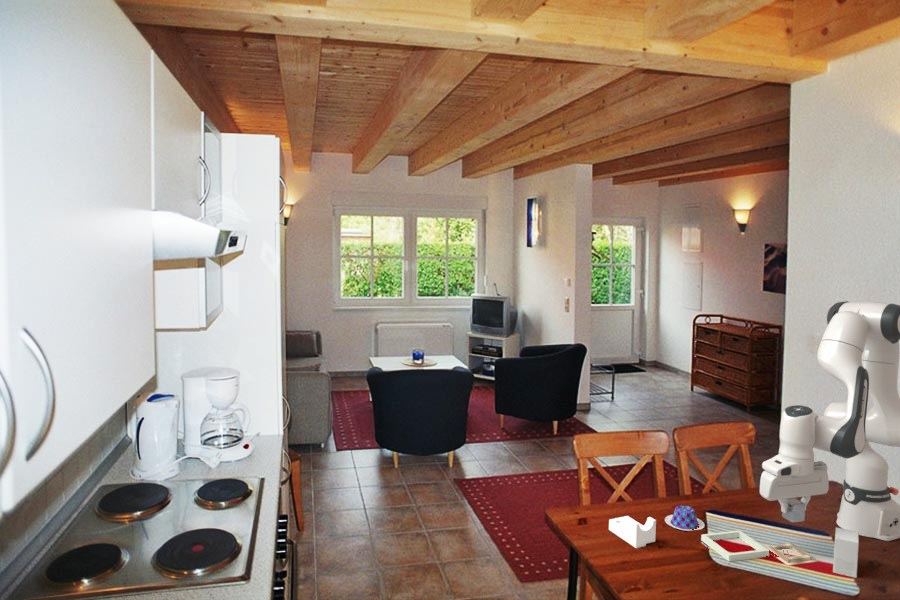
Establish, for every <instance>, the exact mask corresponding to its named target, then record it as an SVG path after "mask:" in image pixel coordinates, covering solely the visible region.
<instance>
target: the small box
mask: <svg viewBox="0 0 900 600" xmlns="http://www.w3.org/2000/svg"><path fill="white" fill-rule="evenodd" d="M833 545H834V547H833V563H832V573H835V574H838V575H842V576H847V577H852V578H856V579H857V577H858V564H859V563H858V562H859V548H860V547H859V545H860V535H859V532H856V531H851V530H847V529H843V528H841V527H835V534H834V544H833Z"/></svg>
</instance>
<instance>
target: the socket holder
mask: <svg viewBox="0 0 900 600" xmlns="http://www.w3.org/2000/svg"><path fill="white" fill-rule="evenodd" d="M767 548H768V549H769V550H770V551H771V552H773V553H774V554H776V555H777V556H779V557H775V555H774V556H773V557H775V558H776V559H778V560H779V561H781V562H782V563H783V564H785V565H786V566H793V565H800V564H801V565H802V564H809V563H810V564H811V563H815V562H816V563H818V560H817V559H816V558H814V555H813V556H812V555H811V554H810V553H808V552H806V551H805V550H803V549H802V548H800V547H798V546H797V545H795V544H794V543H792V542H791V543H783V544H775V545H769V546H767ZM790 548H791V549H793V550H795V551H796V552H798V553H799V554H800V556H790V555H784V554H785V553H784V550H783V553H781V552H780V551H778V550H782V549H790ZM796 552H795V553H796ZM787 553H788V550H787ZM791 553H792V551H791ZM788 554H789V553H788Z"/></svg>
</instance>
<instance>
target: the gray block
mask: <svg viewBox="0 0 900 600" xmlns="http://www.w3.org/2000/svg"><path fill="white" fill-rule="evenodd" d="M786 505H787V506H789V507H790V512H788V513H784V512H782V511H781V512H782V513H781V517H782V518H784V519H785V520H787V521H789V522H790V523H801V522H805V517H806V510H805V504H804V503H802V502H801V500H798V499H797V498H788V499H787V502H786Z"/></svg>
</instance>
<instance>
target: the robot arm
mask: <svg viewBox="0 0 900 600" xmlns="http://www.w3.org/2000/svg"><path fill="white" fill-rule="evenodd" d="M826 324H827V326H826V328H825V330H824V332H823V335H822V337H821V339H820V343H819V345H818V349H817V353H816V360H817V364H818V365H819V366H820V368H821V369H822V371H824V372H825V373H827V374H828V375H829V376H831V377H832V378H834V379H835V380H838V382H841V383H843V384H844V385H845V387H846V389H847V400H846V401H833V402H831V403H830V404H827V405H828V406H826V408H825V409H824V412H823V414H819V413H816V412H814V410H813V409H812V408H811V407H809V406H806V405H795V404H794V405H789V406H787V407H785V408H784V410H783V412H782V414H781V419H780V424H779V441H780V446H779V449H778V454H776V455H774V456H773V457H771V458H769V459H767V460H765V461H763V462H762V463H761V467H762V469H763V471H762V472H761V474H760V475H761V476H760V480H759V494H760V496H761V497H762V498H763V499H766V500H767V501H769V502H771V501H778V503H779V504H780V511H781V512H784V513H788V512H790V507H789V506H787V505H786V502H787V499H793V498H795V499H797V498H801V499H800V501H801V502H802V503H804V504H805V511H807V506H808V504H809V502H810V500H811V499H812V498H811V496H819V495H826V494H828V491H829V488H830V483H829V474H828V465H827V463H825V462H824V461H823V460H818V461H815V452H814V449H816V450H820V451H823V452H827V453H830V454H832V455H836V456H837V457H840V458H843V459H845V479H844V480H843V483H842V492H843V494H842V496H841V502H840V506H839V511H838V512H837V514H836V517H837V518H836V524H837V525H838V527H839V528H842V529H847V530H851V531H856V532H859V536H862V537H865V538H866V537H867V538H874V539H878V540H882V541H886V542H890V541H893V540H897V539H900V504H899V503H897V502H896V500H894V499H893V498H892V496H891V494H892V495H894V496H897V495H898V494H899V489H898V488H896V487H895V488H894V487H893V486H889V487H888V477H889V476H888V475H889V464H888V462H887V460H886V459H885V458H884V457H883V455H881V454H879V453H878V452H876V450H874V449H873V448H872V447H871V445H870V443H874V444H879V445H884V446H887V447H894V448H895V447H896V448H897V447H898V448H900V394H899V392H898V391H899V388H898V377H899V367H900V304H896V303H885V302H884V303H883V302H876V301H847V300H845V301H838V302H835V303H834V304H833V305H832V306H830V308H829V309H828V311H827V314H826ZM869 398H870V399H871V400H872V405H868V401H869ZM869 442H870V443H869Z"/></svg>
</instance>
